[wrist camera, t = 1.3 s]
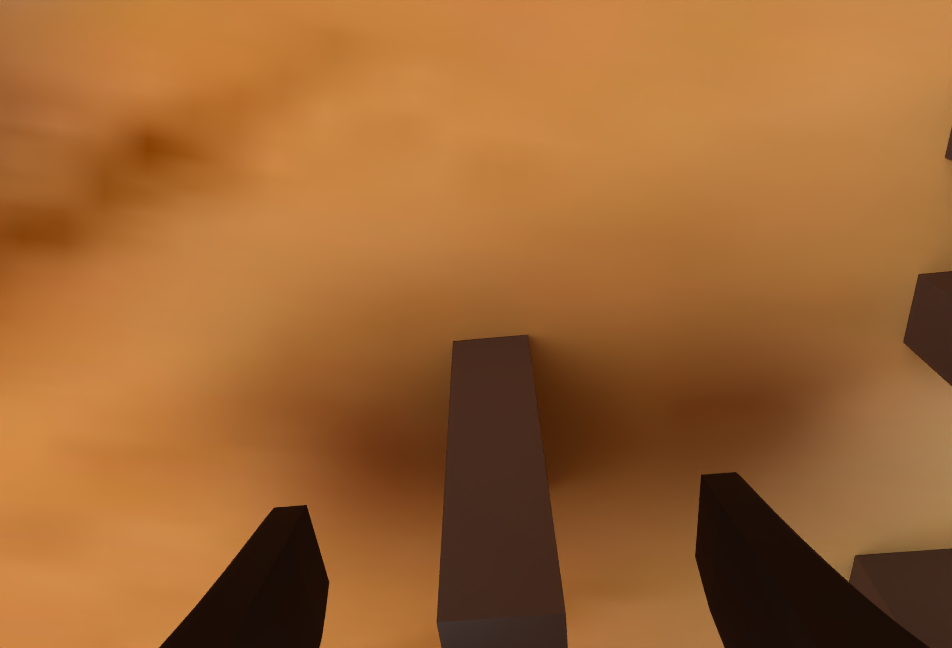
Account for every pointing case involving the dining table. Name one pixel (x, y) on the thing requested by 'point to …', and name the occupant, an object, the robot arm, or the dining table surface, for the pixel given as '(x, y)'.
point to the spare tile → (497, 507)
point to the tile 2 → (910, 591)
